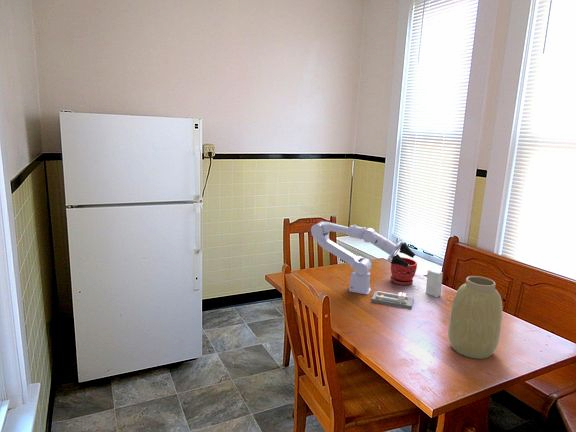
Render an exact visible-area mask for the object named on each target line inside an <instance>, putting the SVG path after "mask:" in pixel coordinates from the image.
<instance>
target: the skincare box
mask: <svg viewBox="0 0 576 432" xmlns="http://www.w3.org/2000/svg"><path fill="white" fill-rule="evenodd" d="M443 274H444V272H442V271H440V270H436V269H433V268H431V269H429V270H427V274H426V275H427V276H426V288H425V293H426V294H427V295H429V296H432V297H436V298H437V297H440V296H441V295H442V285H443V284H442V283H443Z"/></svg>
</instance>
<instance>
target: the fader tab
mask: <svg viewBox="0 0 576 432" xmlns="http://www.w3.org/2000/svg"><path fill="white" fill-rule="evenodd" d="M406 294H407V293H406V292H398V294H397V295H398V299H399V300H404V301H405V298H406V296H407V295H406Z"/></svg>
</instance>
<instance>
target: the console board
mask: <svg viewBox="0 0 576 432" xmlns="http://www.w3.org/2000/svg"><path fill="white" fill-rule="evenodd" d="M398 295H399V294H395V293H391V292H385V291H381V290H380V291H379V290H377V291H374V293H373V295H372V297H371V300H370V301H371V303H378V304H381V305H387V306H393V307H396V308H397V307H398V308H403V309H408V310H412V309H413V308H412V307H413V305H414V304H413V303H414V297H409V296H407V295H406V298H405V301H404V300H399V299H398Z"/></svg>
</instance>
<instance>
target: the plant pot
mask: <svg viewBox="0 0 576 432" xmlns="http://www.w3.org/2000/svg"><path fill="white" fill-rule="evenodd" d="M400 257H401V258H402V259H403V260H405V261H406V262H408V263H409V265H408V267H404V266H401V265H397V264H391V262H392V261H391V262H390V273H391V276H390V281H392V282H393V283H394V284H396V285H401V286H409V285H412V284H413V282H414V279H413V278H414V277H415V275H416V272H417V269H418V262H417V261H416V260H414V259H413V258H412V259H411V258H410V257H409V258H407V257H402V256H400Z"/></svg>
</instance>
